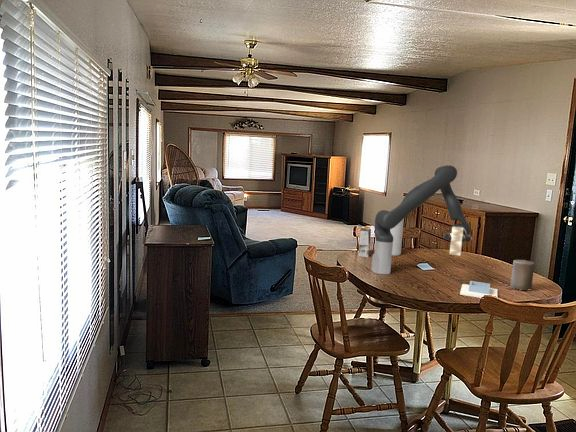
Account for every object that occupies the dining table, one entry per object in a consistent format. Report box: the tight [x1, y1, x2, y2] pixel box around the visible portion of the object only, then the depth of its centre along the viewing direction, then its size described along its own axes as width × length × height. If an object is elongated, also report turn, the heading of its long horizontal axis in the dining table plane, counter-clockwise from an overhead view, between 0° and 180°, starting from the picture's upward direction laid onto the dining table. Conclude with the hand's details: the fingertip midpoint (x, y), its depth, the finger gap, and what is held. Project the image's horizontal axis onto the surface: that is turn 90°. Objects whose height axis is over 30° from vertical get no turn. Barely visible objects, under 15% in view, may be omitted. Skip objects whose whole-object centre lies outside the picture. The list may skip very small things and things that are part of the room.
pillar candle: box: [509, 259, 535, 291], centre depth 239 cm, size 10×10×15 cm
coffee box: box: [358, 228, 372, 258], centre depth 295 cm, size 9×6×16 cm
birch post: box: [449, 227, 464, 257], centre depth 233 cm, size 5×5×13 cm
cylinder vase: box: [390, 218, 405, 257], centre depth 303 cm, size 12×12×25 cm
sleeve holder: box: [459, 280, 498, 299], centre depth 227 cm, size 16×16×4 cm
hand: (456, 239), depth 230 cm, fingers closed on birch post, 5 cm apart
